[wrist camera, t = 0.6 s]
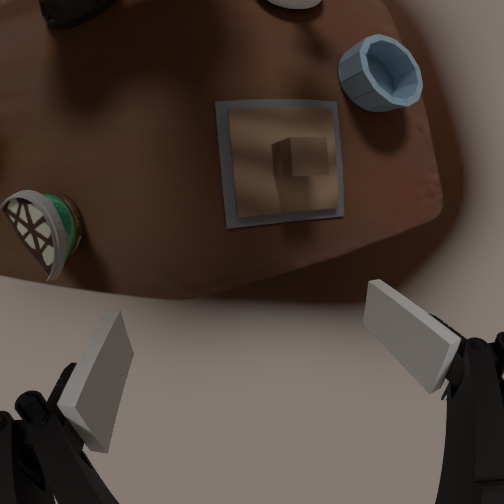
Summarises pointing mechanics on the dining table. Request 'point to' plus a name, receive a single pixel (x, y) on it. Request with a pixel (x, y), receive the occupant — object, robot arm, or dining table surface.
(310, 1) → the flower in vase
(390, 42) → the ceramic bowl
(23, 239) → the food container
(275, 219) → the rubber mat
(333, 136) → the walnut lid
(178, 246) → the dining table surface
